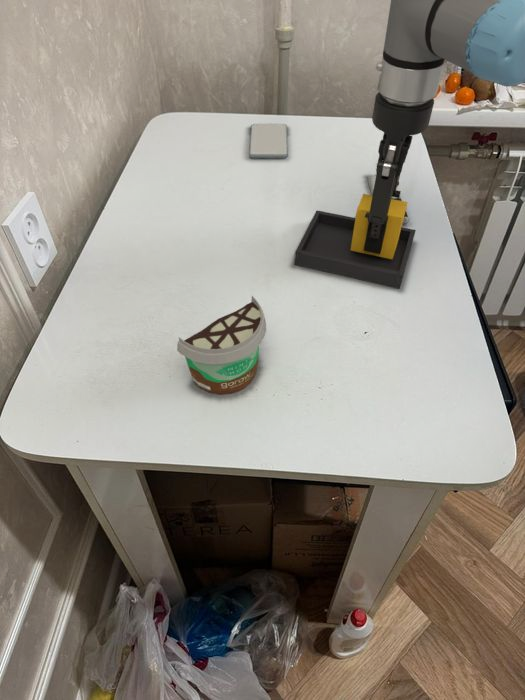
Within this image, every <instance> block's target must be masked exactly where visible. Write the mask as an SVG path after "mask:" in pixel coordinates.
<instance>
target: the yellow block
mask: <svg viewBox="0 0 525 700" xmlns="http://www.w3.org/2000/svg"><path fill="white" fill-rule="evenodd" d="M372 196H373V195H372V194H367V193H363V194H362V196H361V199H360V201H359V203H358V206H357V208H356V213H355V218H356V219H355V225H354V231H353V237H352V243H351V251H355V252H360V253H365V254H369V255H374V256H378V257H383V258H388V259H393V256H394V253H395V250H396V247H397V243H398V239H399V235H400V231H401V227H403V224H402V223H403V219H404V215H405V211H406V212H407V206H408V201H404V200H402V201H399V200H394V199H391V203H390V207H389V211H388V215H387V216H388V221H387V226H386V231H385V235H384V240H383V244H382V249H381V253H380V254H377V253H373V252H368V251H363V250H364V245H365V240H366V234H367V229H368V223H369V222H368V218H365V214H366V212H368V213H369V212H370V207H371V201H372Z"/></svg>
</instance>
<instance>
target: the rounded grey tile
mask: <svg viewBox="0 0 525 700" xmlns="http://www.w3.org/2000/svg"><path fill="white" fill-rule="evenodd" d="M249 134H250V135H249V148H248V149H249V151H248V156H249V157H250V158H256V159H257V158H261V159H262V158H264V159H265V158H267V159H268V158H269V159H271V158H273V159H274V158H280V159H281V158H283V159H284V158H287V157H288V156H289V142H288V141H289V140H288V126H287V124H286V123H252V124H251V125H250V133H249Z"/></svg>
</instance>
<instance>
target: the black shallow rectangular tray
mask: <svg viewBox="0 0 525 700" xmlns="http://www.w3.org/2000/svg"><path fill="white" fill-rule="evenodd" d="M355 219H356V217H353V216H348V215H343V214H337V213H332V212H327V211H322V210H315V212H314V215H313V217H312V219H311V220H310V222H309V224H308V226H307V228H306V230H305V231H304V234H303V236H302V238H301V240H300V242H299V244H298V246H297V248H296V249H295V252H294V266H297V267H302V268H306V269H309V270H315V271H320V272H324V273H328V274H333V275H337V276H342V277H345V278H350V279H354V280H359V281H363V282H367V283H373V284H375V285H380V286H385V287H390V288H394V289H398V290H399V289H401V286H402V282H403V279H404V276H405V272H406V269H407V268H406V267H407V264H408V261H409V258H410V253H411V250H412V247H413V244H414V243H413V242H414V238H415V235H416V232H417V230H416V229H413V228H409V227H408V228H407V227H405V226H402V227H401V231H400V235H399V239H398V243H397V247H396V250H395V253H394V256H393V259H388V258H383V257H378V256H374V255H369V254H365V253H360V252H355V251H351V243H352V237H353V231H354V225H355Z"/></svg>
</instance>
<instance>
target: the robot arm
mask: <svg viewBox="0 0 525 700" xmlns="http://www.w3.org/2000/svg"><path fill="white" fill-rule="evenodd" d="M446 61H447V62H449V63H451V64H453V65H454V66H457V67H459V68H460V69H463V70H464V71H467V72H469V73H471V74H472V75H473V76H475V77H477V78H478V79H480V80H481V79H482V80H483V81H485V82H490V83H494V84H497V85H500V86H503V87H508V88H509V87H510V88H511V87H515V86H519V85H522V84H524V83H525V0H390V4H389V11H388V18H387V24H386V30H385V38H384V43H383V51H382V58H381V62H379V61H378V62H377V63H376V65H375V70H376V71H377V72H380V74H379V77H378V82H377V91H378V92H377V93H376V95H375V97H374V98H375V99H374V104H373V110H372V117H371V121H372V124H373V125H374V127H375V128H376V129H377V130H379V131H381V132H383V134H382V135H383V136H382V139H381V140H380V141H379V146H378V151H377V152H378V159H377V163H376V169H375V172H376V173H375V175H376V179H375V185H374V190H373V196H372V201H371V207H370V212H369V213H368V212H366V214H365V218H368V222H369V223H368V229H367V234H366V240H365V245H364V250H363V251H368V252H373V253H377V254H380V253H381V249H382V244H383V240H384V235H385V231H386V226H387V221H388V216H387V215H388V211H389V207H390V203H391V199H392V197H397V198H400V196H401V193H402V192H401V190H397V188H398V187H399V185H400V177H401V174H402V171H403V167H404V165H405V163H406V160H407V156H408V154H409V149H410V148H411V145H412V140H413V136H416V135H419V134H422V133H423V132H424V131H426V130H427V128H428V127H429V125H430V122H431V116H432V113H433V109H434V105H435V99H434V98H435V97H436V96H437V94H438V91H439V88H440V87H439V86H440V83H441V80H442V75H443V71H444V67H445V64H446V63H445V62H446ZM394 200H395V199H394Z"/></svg>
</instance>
